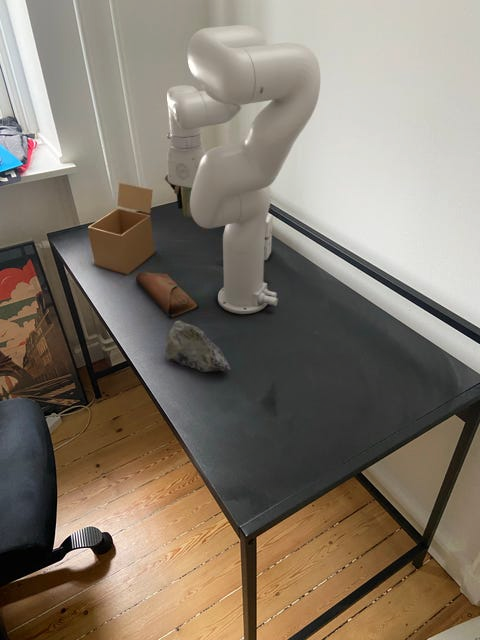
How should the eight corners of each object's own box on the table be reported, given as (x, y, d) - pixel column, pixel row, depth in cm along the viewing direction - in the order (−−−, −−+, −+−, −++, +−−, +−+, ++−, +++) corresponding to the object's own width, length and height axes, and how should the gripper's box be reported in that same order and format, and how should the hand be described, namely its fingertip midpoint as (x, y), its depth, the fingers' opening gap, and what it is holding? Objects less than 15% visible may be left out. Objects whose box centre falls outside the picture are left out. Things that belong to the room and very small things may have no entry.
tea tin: (204, 211, 141) (202, 179, 136) (194, 218, 138) (192, 186, 132) (188, 208, 143) (186, 177, 138) (178, 215, 140) (176, 183, 134)
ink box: (237, 256, 144) (236, 217, 137) (242, 248, 148) (242, 209, 141) (267, 261, 142) (268, 221, 135) (271, 252, 146) (273, 214, 139)
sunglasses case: (200, 304, 125) (186, 289, 120) (179, 325, 124) (164, 311, 119) (164, 272, 137) (150, 257, 132) (145, 291, 136) (130, 276, 131)
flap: (117, 205, 142) (118, 205, 143) (149, 213, 139) (150, 213, 139) (119, 182, 140) (119, 182, 141) (152, 189, 137) (152, 189, 137)
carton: (123, 244, 150) (117, 207, 143) (154, 252, 146) (150, 215, 139) (95, 264, 141) (87, 227, 134) (127, 274, 137) (121, 236, 130)
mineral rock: (233, 377, 106) (233, 339, 100) (184, 393, 102) (180, 355, 96) (208, 340, 115) (206, 304, 109) (162, 355, 111) (157, 317, 105)
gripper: (149, 140, 129) (157, 208, 140) (208, 149, 123) (212, 220, 134) (165, 132, 135) (172, 198, 145) (223, 140, 128) (225, 209, 139)
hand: (191, 208), depth 139 cm, fingers closed on tea tin, 4 cm apart
